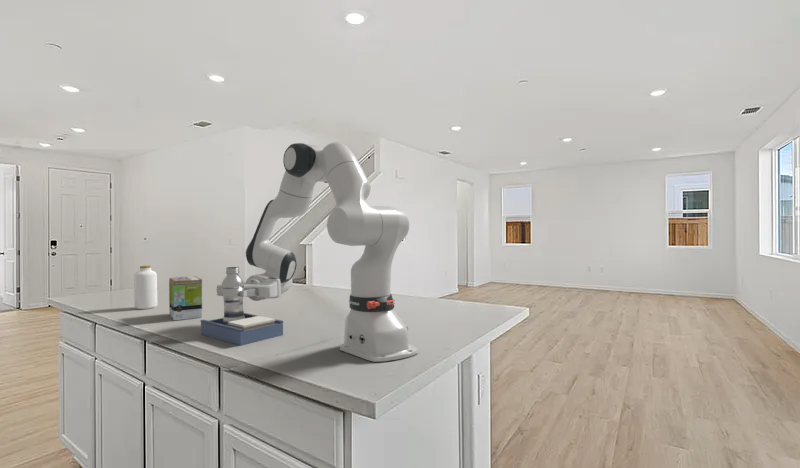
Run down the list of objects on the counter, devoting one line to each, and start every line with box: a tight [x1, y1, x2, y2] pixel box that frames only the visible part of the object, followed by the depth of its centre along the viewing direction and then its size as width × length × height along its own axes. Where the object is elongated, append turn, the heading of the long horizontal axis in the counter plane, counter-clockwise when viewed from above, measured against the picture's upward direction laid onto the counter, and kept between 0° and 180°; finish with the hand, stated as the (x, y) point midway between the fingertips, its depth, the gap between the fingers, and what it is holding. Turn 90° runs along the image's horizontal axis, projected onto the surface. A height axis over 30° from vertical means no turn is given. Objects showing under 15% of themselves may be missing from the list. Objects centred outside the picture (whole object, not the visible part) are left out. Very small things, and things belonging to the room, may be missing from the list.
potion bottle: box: [133, 265, 158, 310], centre depth 178 cm, size 8×8×18 cm
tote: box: [200, 312, 284, 347], centre depth 127 cm, size 22×14×5 cm, turn 52°
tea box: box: [168, 276, 203, 321], centre depth 160 cm, size 15×10×15 cm, turn 34°
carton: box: [228, 315, 276, 331], centre depth 124 cm, size 8×10×5 cm
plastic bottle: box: [221, 266, 245, 326], centre depth 130 cm, size 6×7×20 cm
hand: (231, 293), depth 129 cm, fingers closed on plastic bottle, 6 cm apart
